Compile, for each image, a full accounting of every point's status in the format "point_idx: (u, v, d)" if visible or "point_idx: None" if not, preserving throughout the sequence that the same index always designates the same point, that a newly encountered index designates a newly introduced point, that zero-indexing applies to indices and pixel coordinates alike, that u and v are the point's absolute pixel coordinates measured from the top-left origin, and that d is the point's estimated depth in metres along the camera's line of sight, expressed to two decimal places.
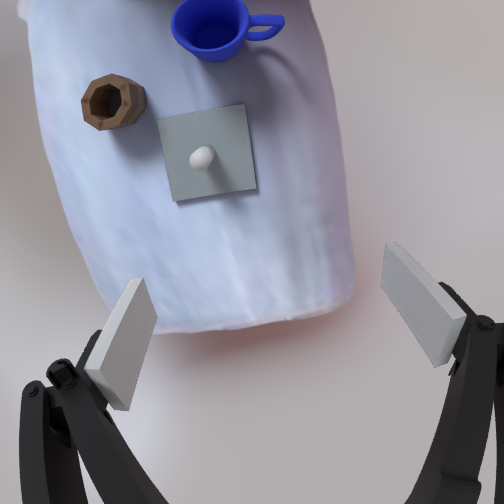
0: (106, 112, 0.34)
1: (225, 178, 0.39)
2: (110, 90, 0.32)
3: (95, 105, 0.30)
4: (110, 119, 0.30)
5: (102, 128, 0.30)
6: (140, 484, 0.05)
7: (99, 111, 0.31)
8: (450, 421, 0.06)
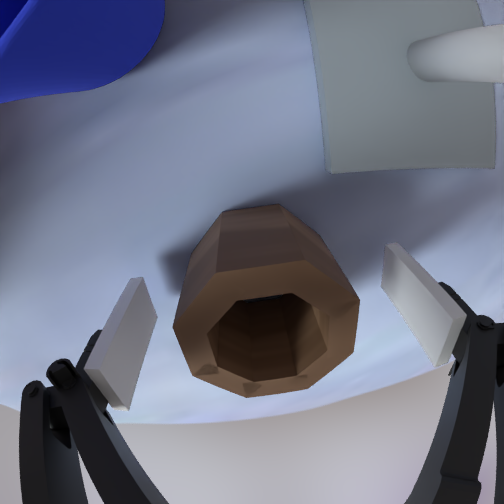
0: (278, 309, 0.16)
1: None
2: None
3: (265, 352, 0.13)
4: (334, 326, 0.11)
5: (350, 345, 0.11)
6: (140, 484, 0.05)
7: (280, 336, 0.14)
8: (450, 421, 0.06)
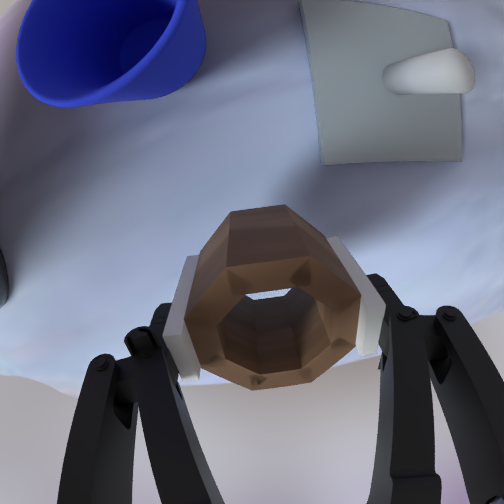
0: (284, 306, 0.17)
1: None
2: None
3: (270, 347, 0.14)
4: (337, 320, 0.11)
5: (352, 339, 0.12)
6: (199, 467, 0.06)
7: (285, 332, 0.15)
8: (388, 420, 0.07)
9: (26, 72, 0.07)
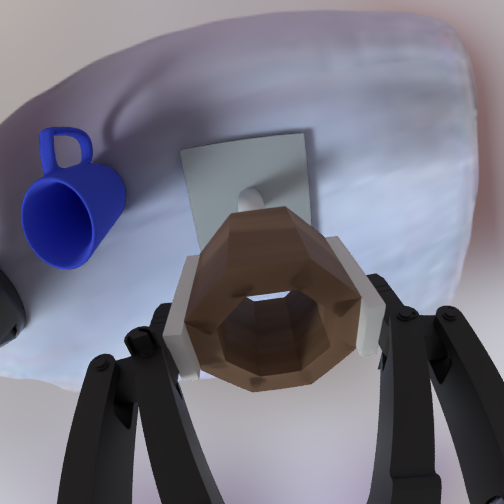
0: (284, 308, 0.17)
1: (287, 175, 0.28)
2: None
3: (270, 348, 0.14)
4: (337, 322, 0.11)
5: (353, 342, 0.12)
6: (199, 467, 0.06)
7: (285, 333, 0.15)
8: (388, 420, 0.07)
9: (33, 246, 0.20)
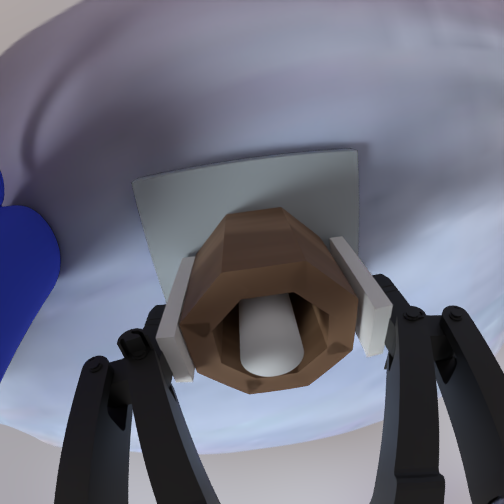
0: None
1: (325, 225, 0.16)
2: None
3: None
4: (333, 324, 0.11)
5: (349, 343, 0.12)
6: (194, 468, 0.06)
7: None
8: (394, 419, 0.07)
9: None
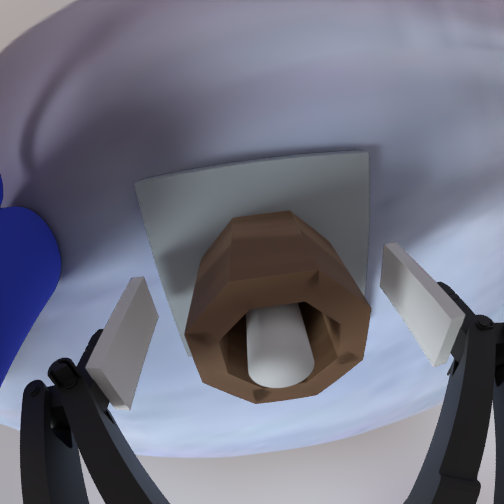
0: None
1: (334, 229, 0.15)
2: None
3: None
4: (345, 334, 0.11)
5: (360, 353, 0.11)
6: (141, 484, 0.05)
7: None
8: (449, 421, 0.06)
9: None
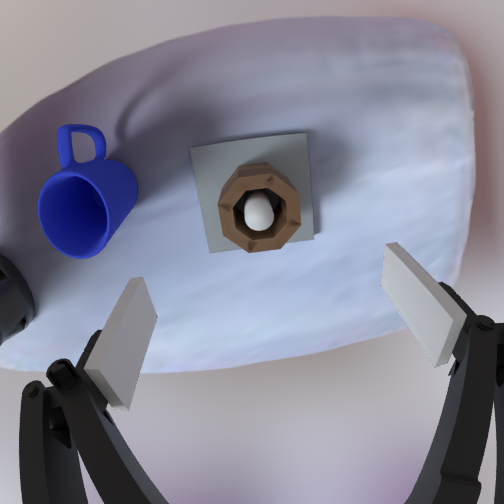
0: None
1: (290, 172, 0.29)
2: (237, 212, 0.30)
3: (259, 231, 0.28)
4: (288, 207, 0.25)
5: (299, 220, 0.25)
6: (140, 484, 0.05)
7: None
8: (450, 421, 0.06)
9: (49, 236, 0.22)
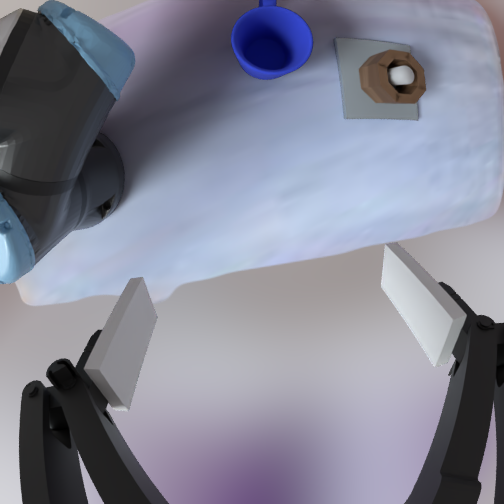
0: None
1: None
2: None
3: None
4: (418, 75, 0.26)
5: (424, 86, 0.27)
6: (140, 484, 0.05)
7: None
8: (450, 421, 0.06)
9: (239, 53, 0.23)
